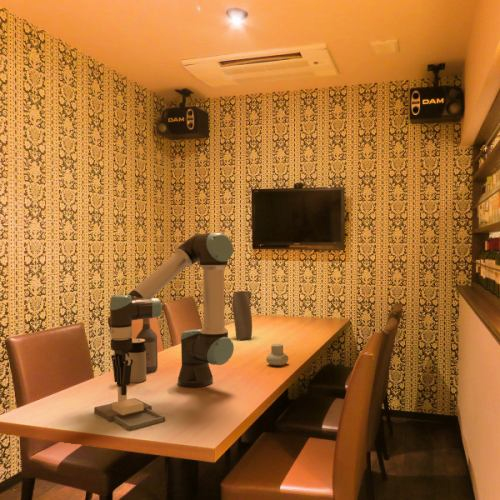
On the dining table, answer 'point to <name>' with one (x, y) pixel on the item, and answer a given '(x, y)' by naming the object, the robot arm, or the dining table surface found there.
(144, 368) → the travel mug
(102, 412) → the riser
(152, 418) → the tray
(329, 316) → the dining table surface
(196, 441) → the dining table surface
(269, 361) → the air freshener
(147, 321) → the liquor
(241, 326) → the vase
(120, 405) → the coaster
